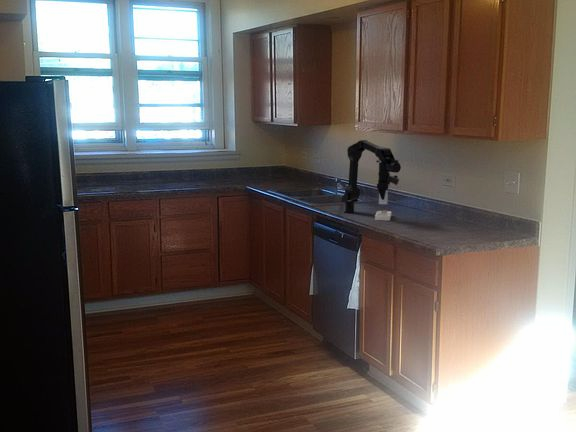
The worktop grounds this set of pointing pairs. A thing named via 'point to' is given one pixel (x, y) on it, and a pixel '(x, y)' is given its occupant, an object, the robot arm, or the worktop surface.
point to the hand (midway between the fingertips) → (383, 199)
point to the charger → (384, 198)
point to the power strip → (383, 215)
